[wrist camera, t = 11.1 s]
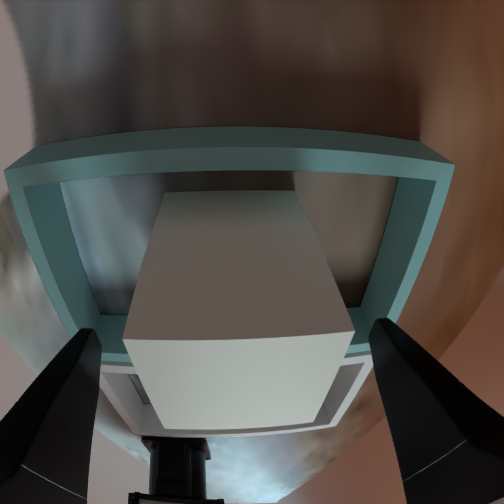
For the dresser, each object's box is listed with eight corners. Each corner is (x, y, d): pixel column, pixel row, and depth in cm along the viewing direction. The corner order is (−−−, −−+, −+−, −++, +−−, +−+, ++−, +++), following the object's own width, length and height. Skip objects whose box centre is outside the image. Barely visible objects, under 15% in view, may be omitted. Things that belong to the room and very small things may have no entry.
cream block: (283, 286, 15) (313, 422, 9) (177, 289, 15) (164, 428, 9) (294, 190, 12) (355, 330, 7) (165, 192, 12) (122, 338, 6)
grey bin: (329, 399, 23) (335, 426, 21) (137, 407, 22) (134, 434, 20) (365, 319, 17) (380, 353, 15) (95, 327, 16) (84, 363, 14)
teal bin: (367, 314, 17) (382, 348, 15) (93, 322, 16) (82, 358, 14) (420, 141, 11) (455, 164, 9) (37, 146, 10) (3, 170, 8)
